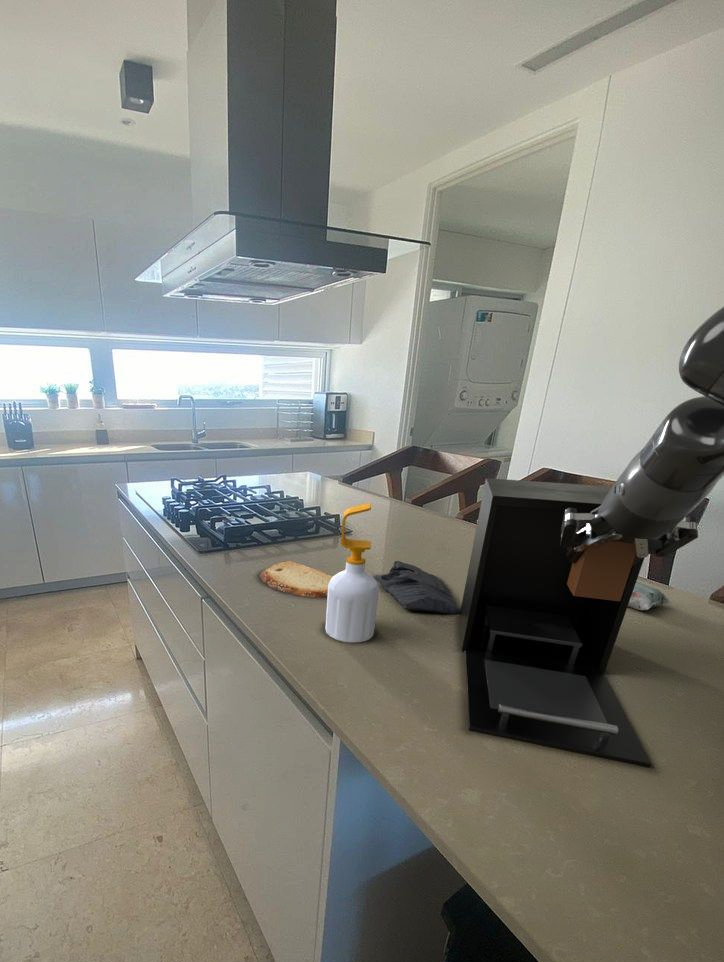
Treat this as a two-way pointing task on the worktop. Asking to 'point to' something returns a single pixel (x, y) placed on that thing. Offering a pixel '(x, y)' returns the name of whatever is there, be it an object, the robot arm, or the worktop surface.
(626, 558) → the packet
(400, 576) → the dark grey crumpled cloth
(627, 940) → the worktop surface
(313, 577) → the slice of bread
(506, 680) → the oven
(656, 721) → the worktop surface
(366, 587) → the soap bottle
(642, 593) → the packaged food
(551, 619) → the rack
